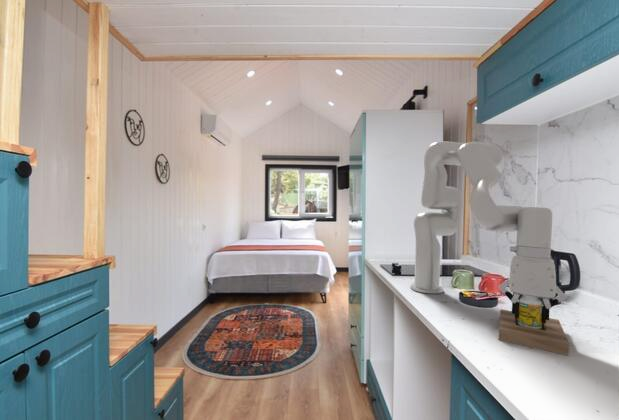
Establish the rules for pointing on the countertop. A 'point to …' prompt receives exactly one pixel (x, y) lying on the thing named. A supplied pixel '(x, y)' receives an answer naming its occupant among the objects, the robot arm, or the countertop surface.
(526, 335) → the bottle caddy
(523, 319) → the supplement bottle
